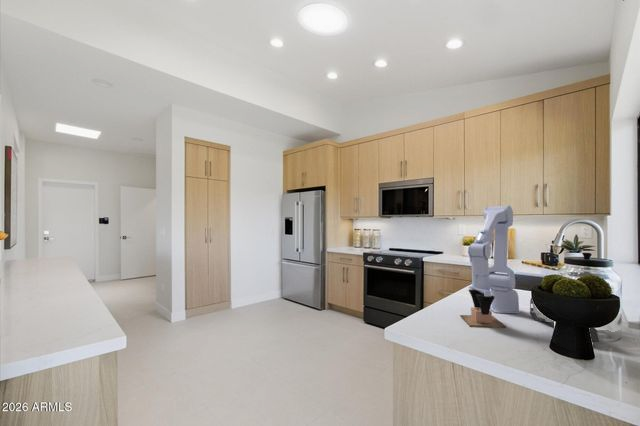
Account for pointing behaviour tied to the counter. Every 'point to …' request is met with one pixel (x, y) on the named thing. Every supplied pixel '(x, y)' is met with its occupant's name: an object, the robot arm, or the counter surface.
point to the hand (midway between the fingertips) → (481, 311)
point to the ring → (480, 316)
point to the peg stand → (472, 323)
